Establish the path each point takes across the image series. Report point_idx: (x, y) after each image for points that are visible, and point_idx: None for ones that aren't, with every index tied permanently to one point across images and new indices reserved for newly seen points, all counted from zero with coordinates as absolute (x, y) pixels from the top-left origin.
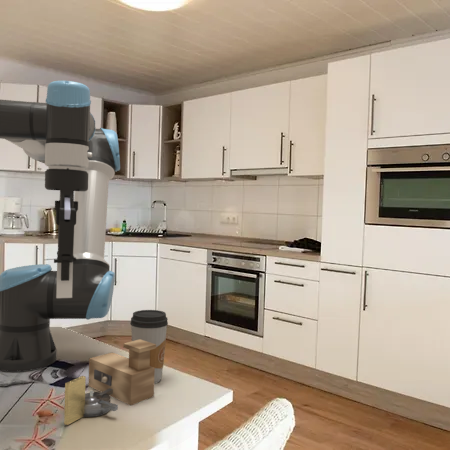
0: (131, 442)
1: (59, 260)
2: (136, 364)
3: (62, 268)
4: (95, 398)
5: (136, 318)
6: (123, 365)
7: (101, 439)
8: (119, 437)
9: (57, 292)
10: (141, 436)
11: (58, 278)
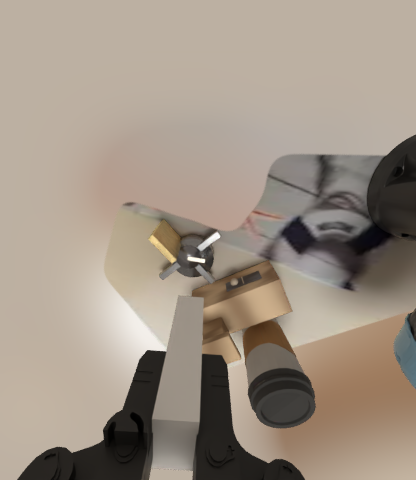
0: (107, 272)
1: (55, 450)
2: (206, 327)
3: (124, 405)
4: (182, 261)
5: (274, 385)
6: (230, 312)
7: (120, 249)
8: (120, 265)
9: (176, 309)
10: (117, 283)
11: (167, 349)
